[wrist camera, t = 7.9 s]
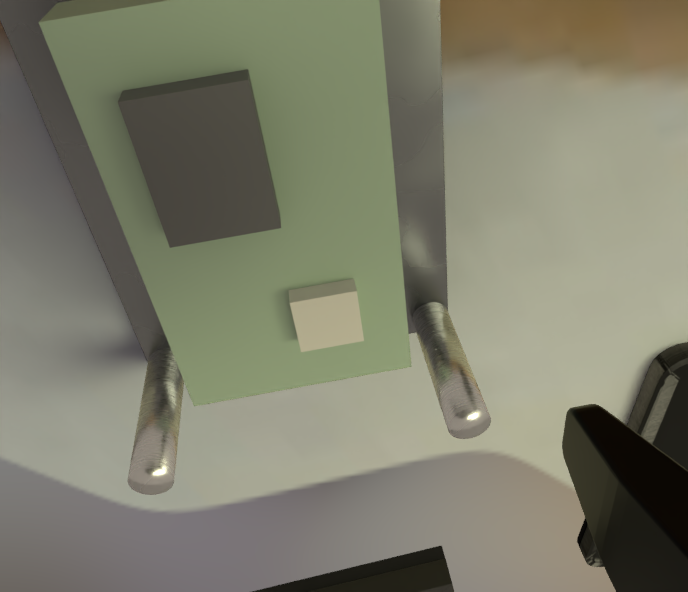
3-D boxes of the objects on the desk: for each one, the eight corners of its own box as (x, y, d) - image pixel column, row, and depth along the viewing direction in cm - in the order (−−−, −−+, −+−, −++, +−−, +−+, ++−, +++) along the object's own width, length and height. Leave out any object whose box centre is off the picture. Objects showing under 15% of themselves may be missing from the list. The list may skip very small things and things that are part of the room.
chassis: (426, -190, 14) (512, -188, 9) (442, 312, 22) (490, 434, 18) (-43, -117, 13) (-182, -81, 9) (157, 361, 22) (135, 497, 18)
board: (364, -50, 12) (381, -28, 11) (401, 333, 19) (416, 382, 17) (57, 2, 12) (28, 31, 11) (197, 370, 18) (192, 423, 17)
